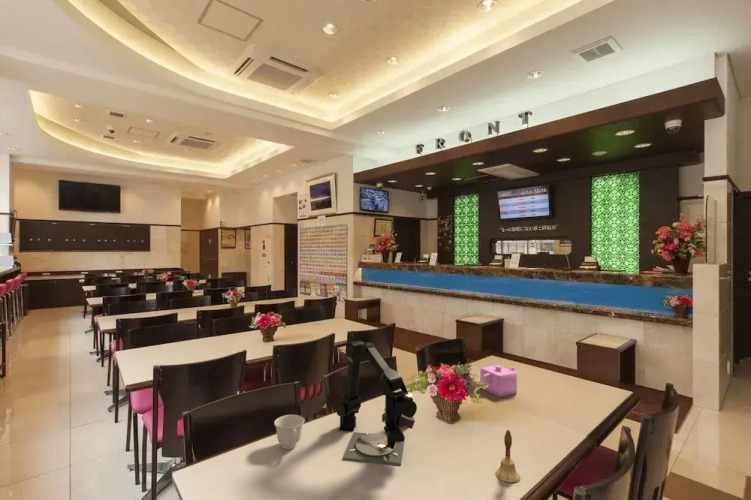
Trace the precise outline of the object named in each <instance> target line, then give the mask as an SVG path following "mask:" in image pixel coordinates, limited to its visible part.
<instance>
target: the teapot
mask: <svg viewBox="0 0 751 500" xmlns="http://www.w3.org/2000/svg"><path fill="white" fill-rule="evenodd" d="M516 368H517V366H511V367H510V368H509V369H508V368H506V367H503V366H502V365H499V364H496V365H490V366H485V367H480V370H479V371H480V376H479V379H480V380H479V383H480V382H483V383H489V385H488V387H487V388H485V389H482V390H484V391H485V392H488V393H490V394H492V395H494V396H495V397H498V398H502V397H507V396H512V395H516V394H517V393H518V373H517V372H516V371H515V369H516Z"/></svg>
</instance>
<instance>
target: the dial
mask: <svg viewBox="0 0 751 500" xmlns="http://www.w3.org/2000/svg"><path fill="white" fill-rule="evenodd" d="M395 447H396V443H395V446H394V449H391V448H390V445H389V442H388V441H387V437H386V434H383V433H380V432H379V433H375V432H374V433H371V434H366V435H363V436H361V437H360V438H358V439H357V441H356V449H357V450H358V451H359V452H360V453H361V454H364V455H367V456H372V457H380V456H385V455H388V454H390V453H392V452H393V451H394V450H395Z"/></svg>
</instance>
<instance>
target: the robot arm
mask: <svg viewBox="0 0 751 500" xmlns="http://www.w3.org/2000/svg"><path fill="white" fill-rule="evenodd" d="M345 357H346V358H347V360H348V367H347V376H346V377H347V380H346V387H345V388H346V391H345V393H344V394H343V395H342V397H341V402H340V405H339V406H337V408H336V409H335V410H336V415H337V416H339V428H338V430H339V431H345V432H346V431H347V432H354V431H355V429H356V427H357V416H356V414H359V411H360V408H361V407H362V398H361V397H360V396H359V393H358V389H359V382H360V381H359V380H360V379H359V378H360V370H361V369H360V368H361V362H362V361H363V359H364V357H366V358H367V360H368V361H369V362H370V364H371V365H372V367H373V369H374V370H375V371H376V373H377V374H378V376H379V383H380V384H381V387H382V388H383V391H381V395H384V397H385V401H384V406H385V407H384V411H383V413H382V414H381V422H382V423H384V425H385V426H383V430H384V433H385V434H384V435H386V437H387V441H388V442H389V445H390V448H391V449H394V446H395V442H403V441H404V436H405V434H404V432H403V430H402V429H401V428H402V425H403V426H406V427H408V428H409V429H413V428H414V425H415V422H416V420H415V418H414V416H415V415H416V413H417V410H418V407H417V403H416V402H415V401H414V397H413V398H411V397H408V396H406V395H407V394H408V392H409V391H408V388H407V386H406V384H405V383H404V379H403V377H402V376H401V375H400V374H399V372H397V370H395V369H392V368H391V367H390V366H389V365H388V364H387V362H386V361H385V360H384V358H383V356H382V355H381V354H380V353H379V352H378V350H377V348H376V345H375V343H373V342H364V341H363V340H357V341H352V342H348V343H347V344H346V347H345ZM404 442H405V441H404Z"/></svg>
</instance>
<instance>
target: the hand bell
mask: <svg viewBox="0 0 751 500" xmlns="http://www.w3.org/2000/svg"><path fill="white" fill-rule="evenodd" d="M503 440H504V441H503V442H504V447H505V452H504V453H505V457H503V458H501V460H500V465H499V468H498V469H496V470H495V476H496V478H498V479H499V480H500V481H502V482H504V481H506V482H505V483H509V482H515V483H518V482H519V481H521V476H520V474H519V473H518V471H517V470H516V466H515V460H513V459H512V458H511V447H512V444H513V438H512V434H511V430H509V429H507V430H506V431H505V434H504V438H503Z"/></svg>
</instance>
